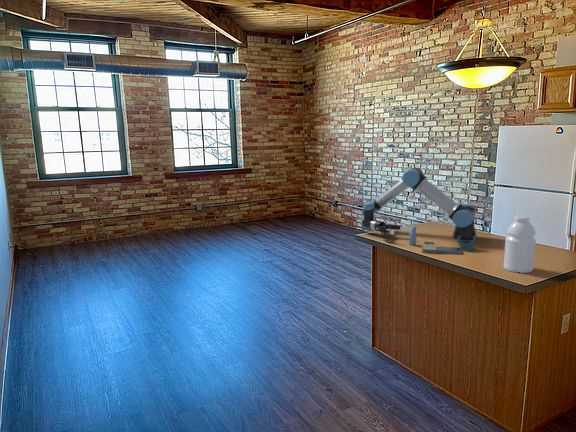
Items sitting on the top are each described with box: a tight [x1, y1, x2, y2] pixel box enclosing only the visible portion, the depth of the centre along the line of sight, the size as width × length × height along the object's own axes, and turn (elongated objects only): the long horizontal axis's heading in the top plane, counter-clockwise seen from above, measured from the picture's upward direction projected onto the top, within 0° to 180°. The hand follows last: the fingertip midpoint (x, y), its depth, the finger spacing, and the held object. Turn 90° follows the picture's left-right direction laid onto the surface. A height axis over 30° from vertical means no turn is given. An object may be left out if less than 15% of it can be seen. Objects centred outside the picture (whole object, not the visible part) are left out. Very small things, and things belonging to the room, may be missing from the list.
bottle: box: [503, 215, 537, 274], centre depth 219 cm, size 14×14×28 cm
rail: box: [421, 240, 462, 255], centre depth 257 cm, size 22×8×5 cm, turn 73°
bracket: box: [456, 236, 477, 252], centre depth 260 cm, size 9×9×9 cm
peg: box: [408, 225, 417, 247], centre depth 273 cm, size 4×4×12 cm
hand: (401, 231), depth 281 cm, fingers open, 13 cm apart
